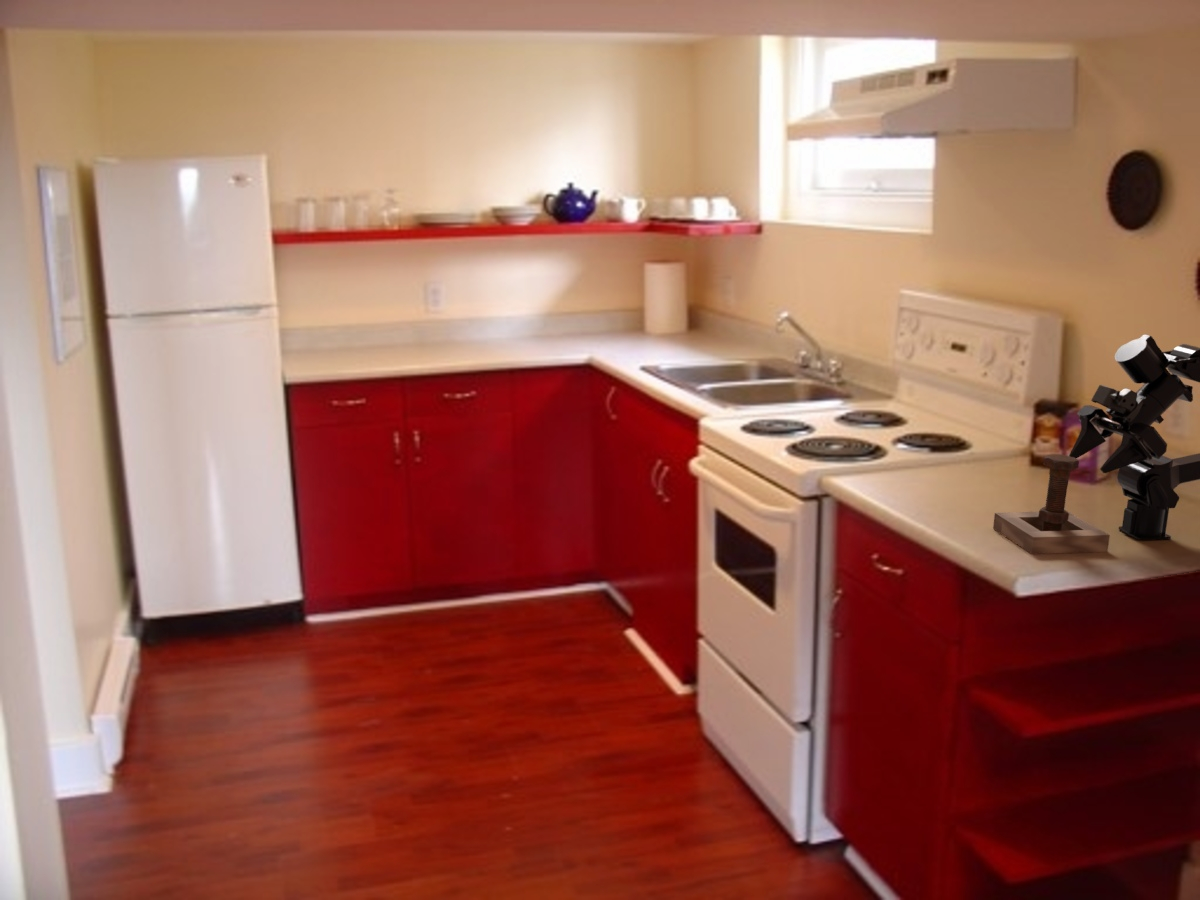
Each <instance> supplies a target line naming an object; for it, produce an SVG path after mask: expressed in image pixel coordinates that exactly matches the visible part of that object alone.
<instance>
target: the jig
mask: <svg viewBox="0 0 1200 900" xmlns="http://www.w3.org/2000/svg"><path fill="white" fill-rule="evenodd" d="M1066 511H1067V512H1068V513H1069V517H1068V521H1067V522H1066V523H1064V524H1062V528H1061V531H1042V529H1043V528H1042V527H1043V522H1044V521H1042V520H1041V519H1040V518H1039V517H1038V516H1039V511H1013V512H994V517H993V527H992V528H993V530H995V531H996V530H997V531H996V532H998V533H999V532H1000V533H999V534H1001V535H1002V534H1003V535H1002V536H1003V537H1005V536H1006V537H1005V538H1007V539H1008V540H1010V541H1011V540H1012V543H1014V542H1015V543H1014V544H1016V545H1017V544H1018V545H1017V546H1019V547H1020V546H1021V548H1022V549H1023V550H1024V551H1026V550H1027V552H1028V553H1029V554H1031V555H1045V554H1048V555H1049V554H1071V553H1076V554H1077V553H1098V552H1099V553H1100V552H1101V553H1102V552H1105V553H1106V552H1107V553H1108V550H1109V544H1110V537H1111V536H1110V534H1109V533H1107V532H1105V531H1104V530H1102V529H1100V528H1098V527H1096V526H1094V524H1091V523H1089V522H1088V521H1086V520H1083V519H1082V518H1080V517H1078V516H1077V515H1075V514H1073V513H1071V512H1069V511H1068V510H1066ZM1043 553H1044V554H1043Z"/></svg>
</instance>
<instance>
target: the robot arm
mask: <svg viewBox="0 0 1200 900" xmlns="http://www.w3.org/2000/svg"><path fill="white" fill-rule="evenodd" d="M1114 359H1115V361H1116V363H1117V364H1118V365H1119V366H1120V368H1121V369H1122V370H1123V371H1124V372H1125V373H1126V375H1127V376H1128V377H1129V379H1130V380H1132V382H1133V383H1134V384H1143V385H1142V386H1141V387H1139V388H1138V390H1136V392H1135V391H1134V390H1132V389H1129V388H1123V389H1122V390H1121V391H1120V390H1117V389H1115V388H1112V387H1110V386H1109V387H1108V386H1105V385H1102V384H1099V385H1098V386H1097V389H1096V391H1095V392H1094V394H1093V396H1092V398H1091V400H1090V401H1091V402H1093V403H1095V404H1099V405H1101V406H1102V407H1104V408H1107V409H1105V411H1104V409H1103V408H1101V407H1098V406H1095V405H1091V404H1085V405H1083V406H1082V407H1081V408H1080V409H1079V411H1077V413H1076V414H1077V415H1078V421H1079V422H1080V431H1079V434H1078V436H1077V439H1076V440H1075V443H1074V445H1073V446H1072V449H1071V450H1070V452H1069V455H1068V456H1070V457H1074V458H1076V459H1078V458H1080V457H1081V456H1084V455H1085V454H1087V453H1088V452H1091V451H1092V450H1093V449H1096V448H1097V447H1099V446H1100V445H1102V444H1104V443H1105V442H1107V440H1106V438H1110V437H1111V436H1112V435H1113V434H1116V435H1118V436H1122V439H1121V442H1120V445H1119V446H1118V447H1117V448H1116V449H1115V450H1114V452H1112V454H1111V455H1110V456H1109V457H1108V458H1107V459H1106V461H1105V462H1104V463H1103V465H1101V467H1100V471H1101V472H1102V473H1103V474H1107V473H1110V472H1113V471H1116V470H1118V472H1117V482H1118V484H1119V486H1120V487H1121V489H1122V495H1123V496H1124V497H1127V498H1129V499H1127V503H1126V507H1124V512H1123V518H1122V525H1121V526H1118V530H1119V531H1121V532H1122V533H1124V534H1127V535H1128V536H1130V537H1132V538H1134V539H1136V540H1139V541H1147V540H1149V541H1151V540H1171V538H1172V535H1169V534H1168V533H1167V525H1168V520H1169V512H1170V509H1175V508H1176V506H1177V504H1178V502H1179V500H1180V496H1179V495H1178V494H1177V493H1176V491H1175V489H1176V488H1177V487H1178V486H1179V485H1181V484H1185V483H1190V482H1195V481H1200V452H1199V453H1194V454H1190V455H1186V456H1180V457H1176V458H1169V457H1167V456H1164V455H1165V453H1166V452H1167V449H1168V443H1167V441H1165V439H1164V438H1163V436H1162V435H1160V433H1159V431H1157V429H1156V428H1155V427H1154V426H1153V425H1154V424H1153V423H1157V424H1162V422H1163V421H1164V420H1165V419H1164V418H1163V416H1162V415H1163V414H1164V413H1165V412H1167V410H1168V409H1169V408H1170V407H1171V406H1172V405H1173V404H1175V402H1177V401H1178V400H1182V401H1185V402H1187V403H1188V402H1189V403H1192V402H1193V401H1194V394H1193V388H1194V387H1193V386H1192V385H1189V384H1185V383H1184V382H1183V381H1182V380H1181V378H1183V379H1185V380H1190V381H1194V382H1196V383H1199V384H1200V347H1198V346H1196V345H1191V344H1186V343H1181V344H1180V345H1177V346H1176V347H1174V348H1173V349H1171V350H1165V351H1162V350H1161V348H1160V347H1159V346H1158V343H1157V342H1156V340H1155V338H1153V336H1151V335H1149V334H1142V335H1141V336H1140V338H1136V339H1133V340H1130V341H1128V342H1127V343H1125V344H1122V345H1121V346H1119V348H1118V349H1117V350H1116V352H1115V354H1114ZM1109 416H1110V417H1111V418H1110V417H1109Z"/></svg>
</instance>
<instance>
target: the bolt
mask: <svg viewBox="0 0 1200 900" xmlns="http://www.w3.org/2000/svg"><path fill="white" fill-rule="evenodd" d="M1042 464H1043V465H1044V466H1046V467H1048V468H1049V472H1048V474H1049V478H1048V483H1047V493H1046V499H1045V505H1044V507H1041V508H1040V509H1039V510H1038V512H1039V516H1038V517H1039V518H1040V519H1041V520H1042V521H1044V522H1043V527H1042V528H1043V529H1042V531H1061V528H1062V524H1064V523H1066V522H1067V521H1068V517H1069V513H1068V512H1069V511H1068V510H1066V508H1065V507H1066V498H1067V494H1068V493H1067V491H1068V486H1069V479H1070V477H1071V472H1072V471H1074V470H1077V469H1079V466H1080V461H1079V460H1078V458H1074V457H1070V456H1069V455H1065V454H1064V455H1063V454H1060V453H1059V454H1054V453H1053V454H1046V455H1045V457H1044V458H1043V463H1042ZM1067 511H1068V512H1067Z"/></svg>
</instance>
